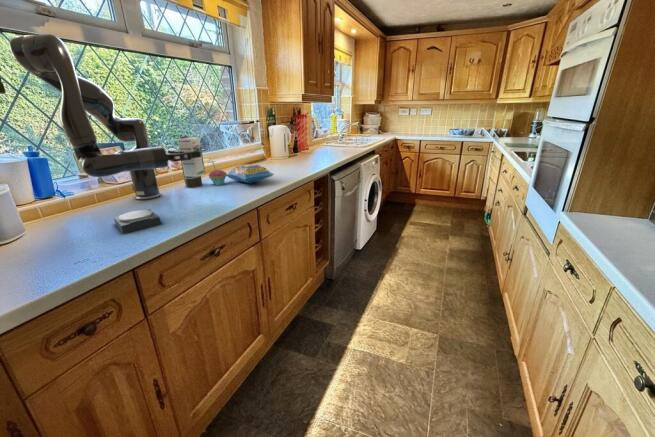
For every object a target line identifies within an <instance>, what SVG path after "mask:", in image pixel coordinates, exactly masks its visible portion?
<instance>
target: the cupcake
mask: <svg viewBox="0 0 655 437" xmlns="http://www.w3.org/2000/svg"><path fill="white" fill-rule="evenodd" d="M211 163H212V166H213V169H214V170H212V171H211V172H210V173H209V174H208V178H209V179H210V180H211V181H212V183H213V185H214V186H222V185H224V184H225V179H226V178H227V177H228V176H227V173H228V172H226V171H224V170H222V169H216V165H215V162H214V160H213V159H212V160H211Z"/></svg>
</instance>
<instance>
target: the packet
mask: <svg viewBox="0 0 655 437" xmlns="http://www.w3.org/2000/svg"><path fill="white" fill-rule="evenodd" d="M226 173H227V176H226V177H228V178H229V179H231V180H233V181H237V182H241V183H245V184H248V185H251V184H254V183H256V182H257V181H261V180H265V179H267V178H268V179H269V178H270V177H273V176H274V175H275V173H273V172H271V171H270V170H269V169H268V168H266V167H265V166H262V165H259V164H251V165H249V164H247V165H237V166H235V167H233V168H232V169H231V170H230V171H228V172H226Z"/></svg>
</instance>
